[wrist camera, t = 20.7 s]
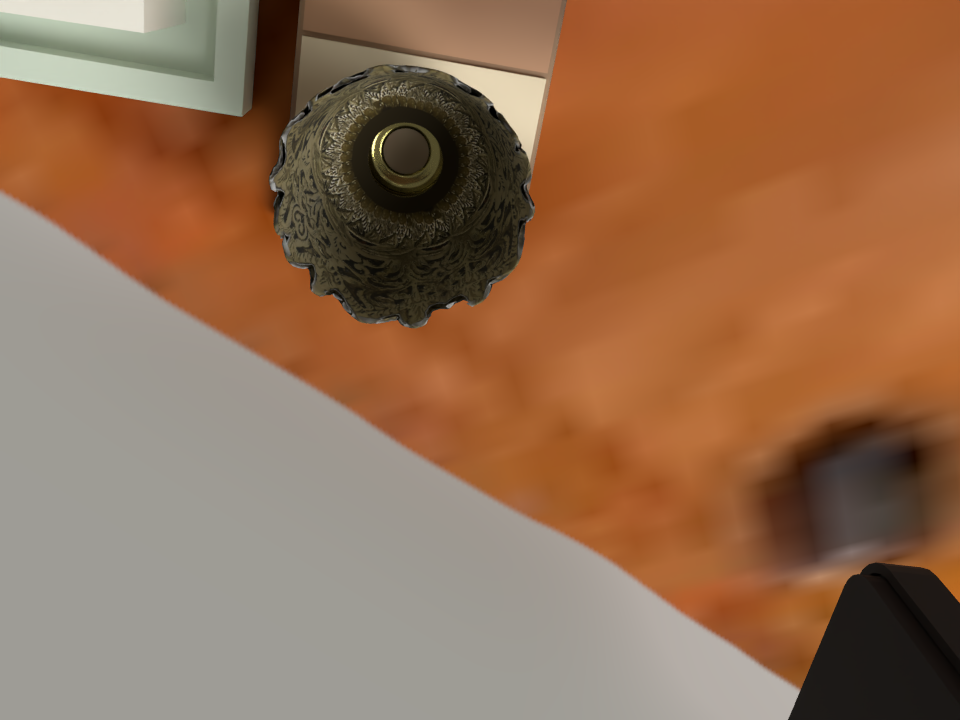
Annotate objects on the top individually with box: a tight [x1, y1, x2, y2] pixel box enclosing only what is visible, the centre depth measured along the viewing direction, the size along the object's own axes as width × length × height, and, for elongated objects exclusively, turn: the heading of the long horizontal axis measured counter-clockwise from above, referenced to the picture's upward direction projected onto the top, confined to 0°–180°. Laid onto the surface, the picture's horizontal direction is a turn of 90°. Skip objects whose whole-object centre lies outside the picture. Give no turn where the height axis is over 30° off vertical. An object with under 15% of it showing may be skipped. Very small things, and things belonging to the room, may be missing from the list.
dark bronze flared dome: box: [269, 64, 535, 328], centre depth 28 cm, size 8×7×8 cm
